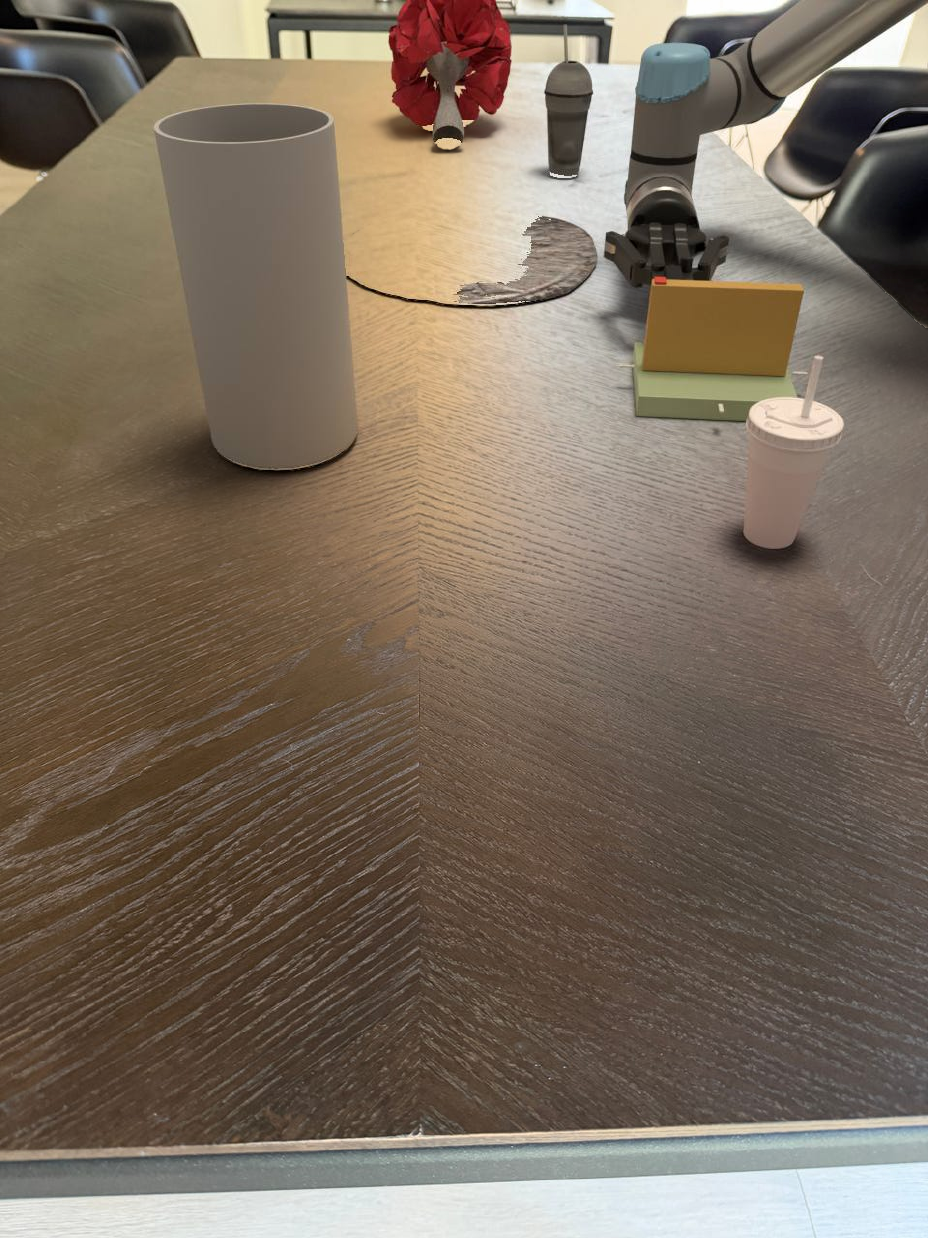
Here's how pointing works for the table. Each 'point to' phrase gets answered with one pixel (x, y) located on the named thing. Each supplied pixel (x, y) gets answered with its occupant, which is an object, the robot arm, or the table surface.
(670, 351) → the red-tabbed upright panel
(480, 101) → the bouquet
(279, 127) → the cylinder vase
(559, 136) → the beverage cup
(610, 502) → the table surface
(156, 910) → the table surface
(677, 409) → the flat green base panel
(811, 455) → the smoothie
